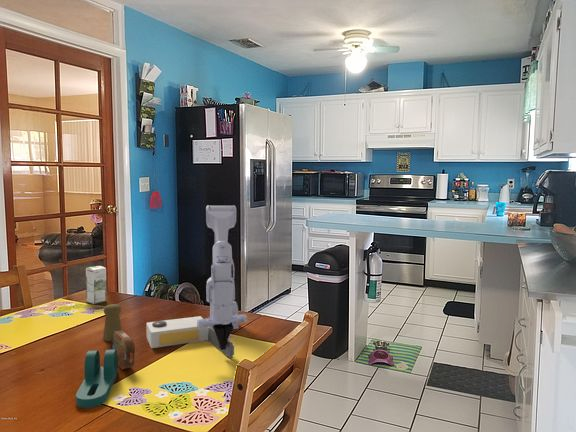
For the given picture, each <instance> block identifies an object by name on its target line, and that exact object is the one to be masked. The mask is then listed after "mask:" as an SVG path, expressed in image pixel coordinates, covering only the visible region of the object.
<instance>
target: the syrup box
mask: <svg viewBox="0 0 576 432" xmlns="http://www.w3.org/2000/svg"><path fill="white" fill-rule="evenodd" d="M85 292H86V293H85V294H86V295H85V296H86V297H85V299H86V302H87V303H88V304H89V303H90V304H93V305H96V304H100V303H104V302H107V268H106V267H104V266H103V265H96V266H89V267H85Z"/></svg>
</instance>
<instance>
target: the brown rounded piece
mask: <svg viewBox="0 0 576 432" xmlns="http://www.w3.org/2000/svg"><path fill="white" fill-rule="evenodd" d="M113 349H116V350H117V355H118V368H120V369H121V370H126V369H130V368H133V366H134V365H135V354H136V352H135V351H136V348H135V341H134V340H133V339H132V337H131V336H129V334H127V333H126V332H125V331H124V330H122V331H114V332H113V333H112V337H111V341H110V350H113Z"/></svg>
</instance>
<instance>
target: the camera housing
mask: <svg viewBox="0 0 576 432" xmlns="http://www.w3.org/2000/svg"><path fill="white" fill-rule="evenodd" d="M201 319H204V318H203V317H202V316H201V315H199V316H193V317H192V316H191V317H190V316H189V317H183V318H182V317H181V318H175V319H165V320H157V321H156V320H155V321H149V322H146V340H147V342H148V344H149V347H150V348H151V349H156V348H163V347H170V346H177V345H178V346H179V345H183V344H189V343H190V344H191V343H197V342H205V340H206V341H208V327H202V328H200V329H199V328H198V327H197V320H201Z"/></svg>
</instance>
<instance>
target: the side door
mask: <svg viewBox="0 0 576 432" xmlns="http://www.w3.org/2000/svg"><path fill="white" fill-rule="evenodd" d="M207 341H208V342H209V343H210V344H212V345H213V346H214V347H215V348H217V349H218V350H219V351H220V352H221V353H223V354H224V355H225V356H226V357H228V358H229V359H233V358H234V357H233V356H235V344H234V343H233V342H232V341H231V340H229V339H228V341H227V345H226V349H224V350H221V349H220V348H219V342H218V339H217V336H216V333H215V331H214V329H213V328H212V327H208V340H207Z"/></svg>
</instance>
